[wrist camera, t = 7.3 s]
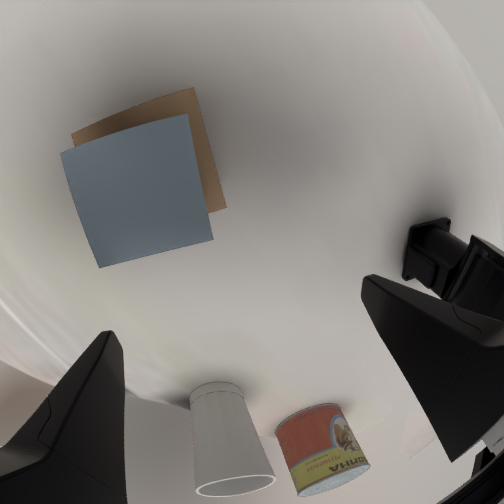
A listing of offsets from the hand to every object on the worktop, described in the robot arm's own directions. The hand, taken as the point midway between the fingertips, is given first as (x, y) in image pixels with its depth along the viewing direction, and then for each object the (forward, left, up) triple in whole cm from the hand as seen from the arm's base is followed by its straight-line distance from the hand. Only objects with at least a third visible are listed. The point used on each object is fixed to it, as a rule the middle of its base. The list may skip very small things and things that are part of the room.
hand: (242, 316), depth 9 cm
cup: (+4, +23, -13) cm, 27 cm away
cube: (+3, -4, -8) cm, 10 cm away
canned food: (-8, +38, -13) cm, 41 cm away
